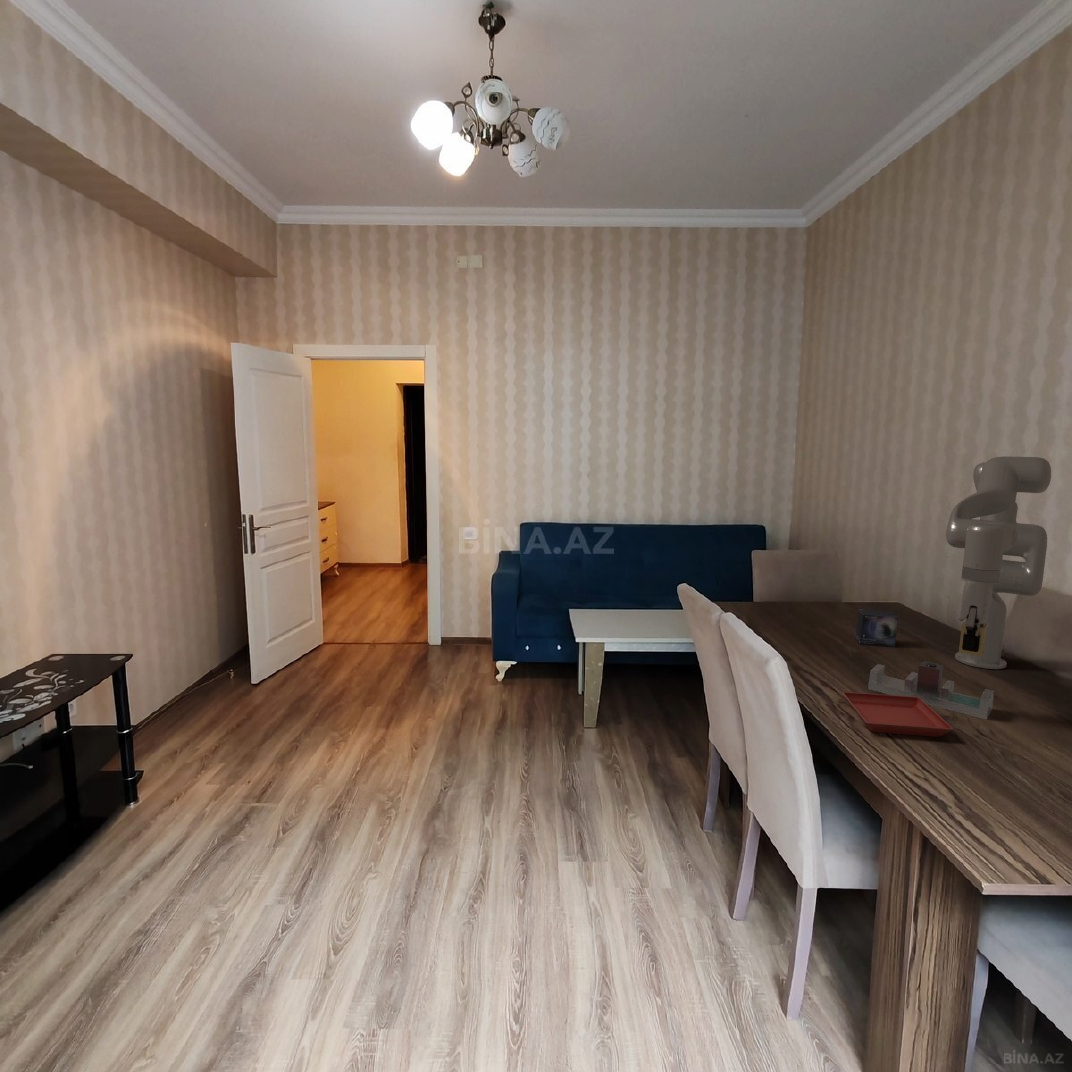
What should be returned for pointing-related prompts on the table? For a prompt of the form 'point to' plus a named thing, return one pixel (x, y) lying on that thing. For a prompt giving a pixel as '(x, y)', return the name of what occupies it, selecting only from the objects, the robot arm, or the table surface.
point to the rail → (943, 700)
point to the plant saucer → (897, 714)
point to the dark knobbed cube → (929, 678)
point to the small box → (876, 628)
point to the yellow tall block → (981, 643)
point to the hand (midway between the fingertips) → (972, 647)
